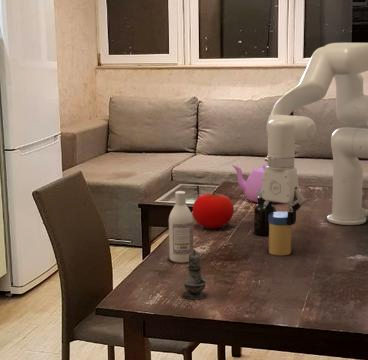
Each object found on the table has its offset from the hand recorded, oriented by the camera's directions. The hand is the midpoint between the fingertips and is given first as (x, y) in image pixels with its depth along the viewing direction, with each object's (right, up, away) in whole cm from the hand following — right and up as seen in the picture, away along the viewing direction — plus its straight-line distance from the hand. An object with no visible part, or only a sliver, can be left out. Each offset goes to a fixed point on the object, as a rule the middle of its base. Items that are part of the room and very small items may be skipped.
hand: (280, 221), depth 217 cm
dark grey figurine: (-28, -17, -31) cm, 45 cm away
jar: (0, -9, +2) cm, 9 cm away
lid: (0, +2, 0) cm, 2 cm away
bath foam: (-29, -11, -2) cm, 31 cm away
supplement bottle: (-1, -5, +22) cm, 22 cm away
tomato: (-16, -4, +31) cm, 35 cm away
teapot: (+6, +4, +66) cm, 67 cm away
